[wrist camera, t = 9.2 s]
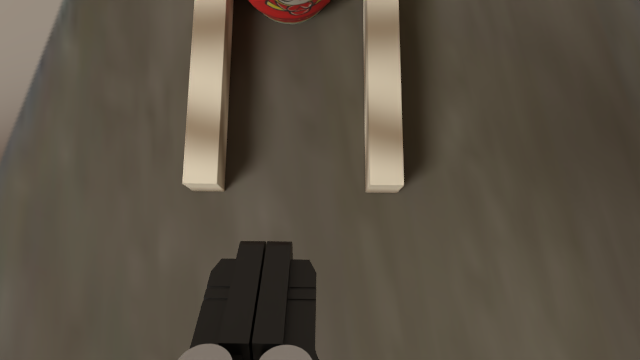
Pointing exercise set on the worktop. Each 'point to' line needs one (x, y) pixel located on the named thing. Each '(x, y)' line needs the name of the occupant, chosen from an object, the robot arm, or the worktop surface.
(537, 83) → the worktop surface
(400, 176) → the guide rails
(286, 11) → the soda can
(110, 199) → the worktop surface
